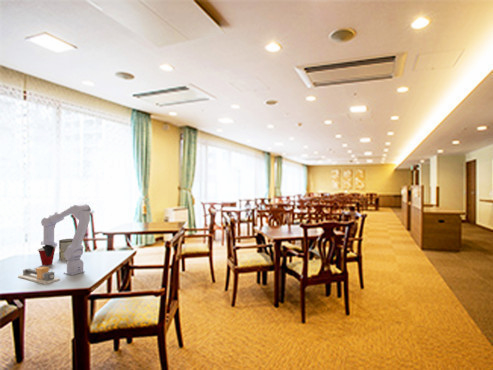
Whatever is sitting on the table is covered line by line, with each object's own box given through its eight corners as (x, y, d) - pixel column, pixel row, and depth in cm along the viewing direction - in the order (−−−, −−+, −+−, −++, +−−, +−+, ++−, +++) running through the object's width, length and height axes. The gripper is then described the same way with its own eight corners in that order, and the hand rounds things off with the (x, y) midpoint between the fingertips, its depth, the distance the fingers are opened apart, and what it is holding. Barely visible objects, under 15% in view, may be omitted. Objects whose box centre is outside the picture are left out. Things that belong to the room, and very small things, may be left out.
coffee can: (55, 259, 209) (55, 240, 209) (68, 255, 219) (68, 238, 219) (65, 260, 205) (65, 241, 206) (77, 257, 215) (78, 239, 215)
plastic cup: (40, 263, 198) (40, 246, 198) (57, 261, 202) (58, 245, 202) (34, 267, 188) (34, 249, 188) (53, 265, 191) (53, 248, 192)
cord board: (59, 280, 162) (59, 271, 162) (44, 284, 155) (44, 275, 155) (33, 273, 175) (33, 265, 175) (18, 277, 167) (18, 268, 167)
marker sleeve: (49, 276, 164) (49, 267, 164) (40, 279, 160) (40, 269, 160) (44, 275, 166) (44, 266, 166) (36, 277, 162) (36, 268, 162)
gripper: (35, 235, 180) (35, 256, 180) (48, 237, 173) (48, 259, 173) (47, 234, 186) (47, 254, 186) (60, 235, 180) (60, 256, 180)
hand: (48, 256), depth 180 cm, fingers closed
